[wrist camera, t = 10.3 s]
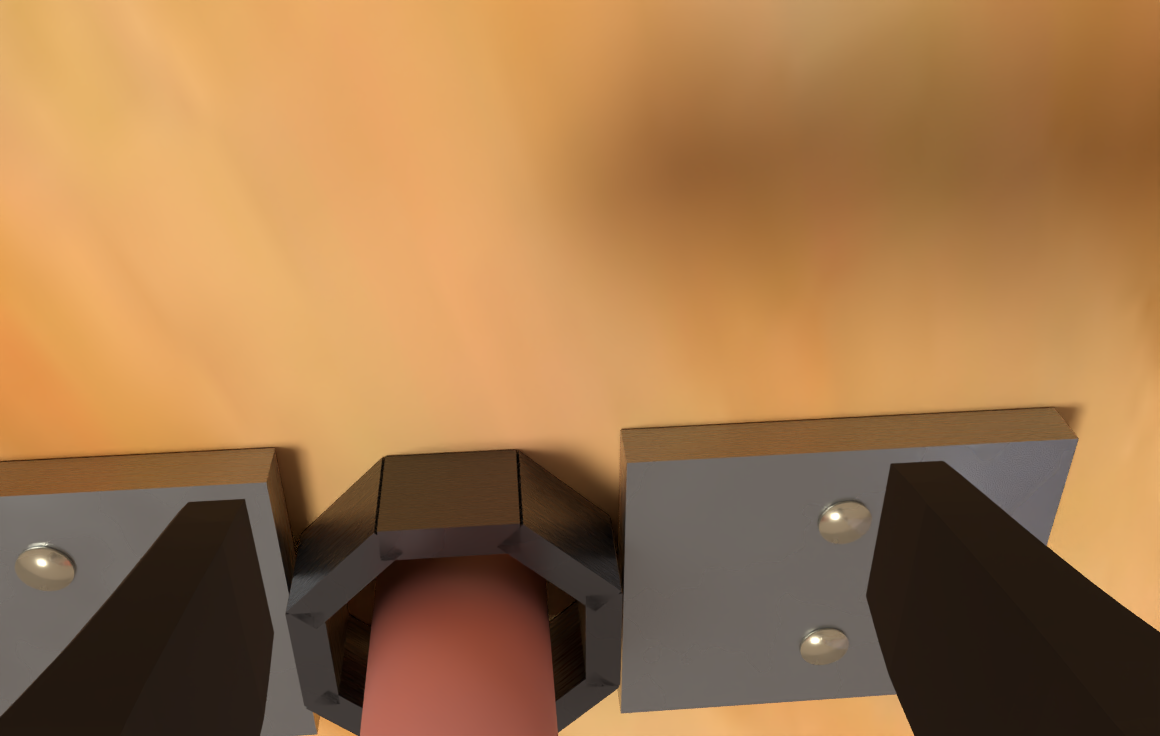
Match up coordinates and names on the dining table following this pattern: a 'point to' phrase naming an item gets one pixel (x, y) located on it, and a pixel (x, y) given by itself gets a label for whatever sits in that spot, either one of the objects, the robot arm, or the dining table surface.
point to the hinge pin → (459, 650)
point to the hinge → (544, 553)
